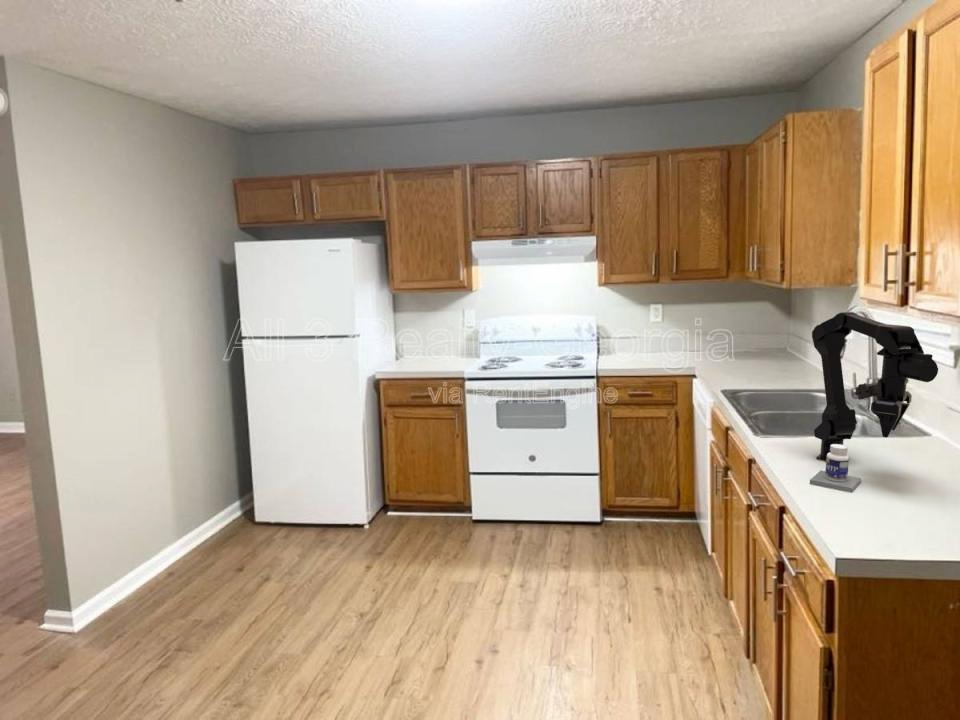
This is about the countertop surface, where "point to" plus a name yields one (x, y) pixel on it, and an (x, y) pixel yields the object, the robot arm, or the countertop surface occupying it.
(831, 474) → the pill bottle
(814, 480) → the ceramic coaster
